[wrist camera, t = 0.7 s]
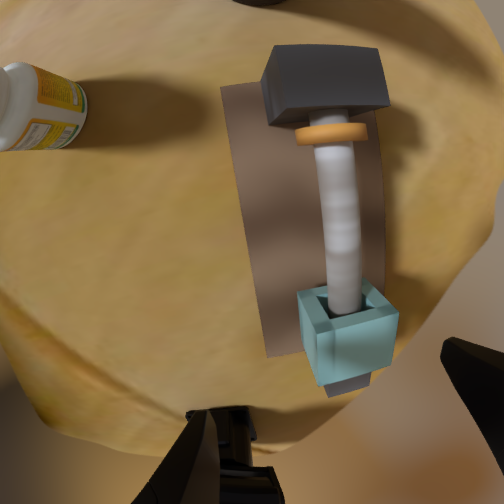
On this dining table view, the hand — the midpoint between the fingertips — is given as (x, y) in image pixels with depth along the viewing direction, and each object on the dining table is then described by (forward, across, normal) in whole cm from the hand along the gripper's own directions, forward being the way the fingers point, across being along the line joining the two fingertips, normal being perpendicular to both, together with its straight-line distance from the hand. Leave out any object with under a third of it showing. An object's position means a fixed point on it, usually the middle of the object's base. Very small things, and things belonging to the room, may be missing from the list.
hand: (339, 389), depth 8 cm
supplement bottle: (+12, +14, -15) cm, 24 cm away
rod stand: (+12, -3, -2) cm, 13 cm away
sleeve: (+10, -3, +3) cm, 11 cm away
